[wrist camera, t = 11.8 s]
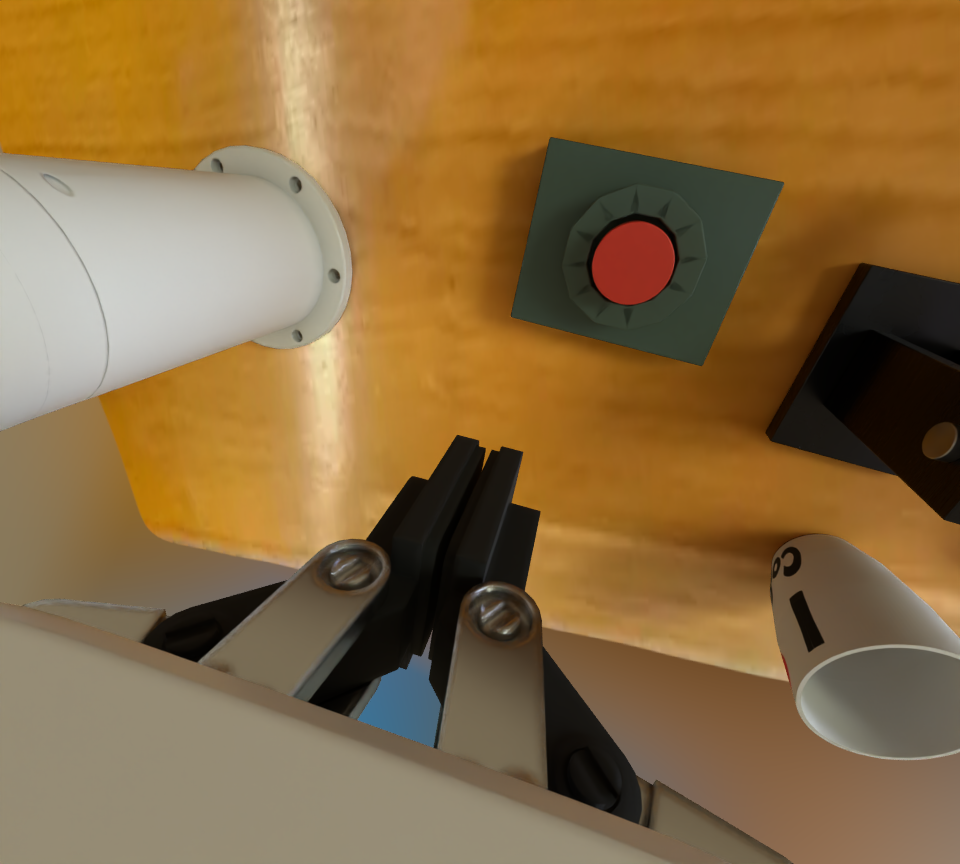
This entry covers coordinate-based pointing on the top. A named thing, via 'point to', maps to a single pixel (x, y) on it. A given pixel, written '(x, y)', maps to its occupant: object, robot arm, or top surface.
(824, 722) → the cup
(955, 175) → the top surface
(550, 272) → the button box
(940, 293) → the bracket
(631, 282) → the button
